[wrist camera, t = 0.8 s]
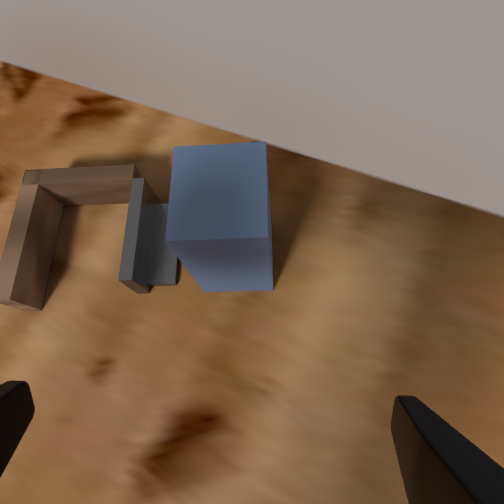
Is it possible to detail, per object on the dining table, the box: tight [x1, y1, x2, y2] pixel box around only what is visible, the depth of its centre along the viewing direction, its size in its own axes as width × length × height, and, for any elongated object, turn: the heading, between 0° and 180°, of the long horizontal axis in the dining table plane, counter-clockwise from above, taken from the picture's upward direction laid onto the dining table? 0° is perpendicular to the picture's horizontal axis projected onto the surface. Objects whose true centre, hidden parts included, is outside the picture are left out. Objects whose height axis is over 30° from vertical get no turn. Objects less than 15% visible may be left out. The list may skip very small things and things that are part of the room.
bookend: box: [119, 178, 179, 293], centre depth 24 cm, size 7×3×3 cm, turn 0°
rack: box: [0, 164, 143, 311], centre depth 24 cm, size 9×8×3 cm
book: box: [165, 142, 273, 292], centre depth 20 cm, size 5×4×8 cm
